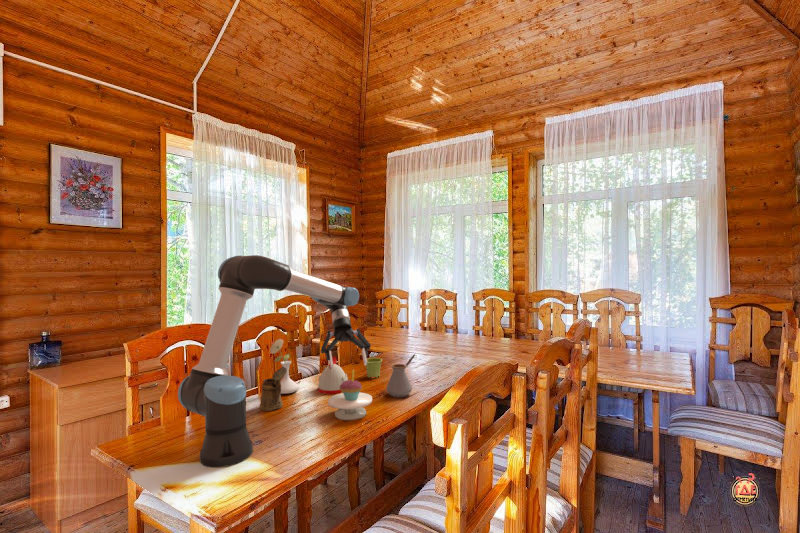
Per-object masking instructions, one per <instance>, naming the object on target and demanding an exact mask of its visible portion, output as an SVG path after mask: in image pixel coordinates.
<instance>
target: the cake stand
mask: <svg viewBox="0 0 800 533" xmlns="http://www.w3.org/2000/svg"><path fill="white" fill-rule="evenodd" d="M372 403H373V396H372V395H371V394H369V393H366V392H361V391H360V392H359V395H358V398H357V399H356V400H353V401H348V400H346V399H345V397H344V394H343V392H342V393H338V394H333V395H331V396H330V397H329V398H328V400H327V404H328V406H329V407H331V408H333V409H337V410H335V411H334V417H335V418H336V419H338V420H341V421H354V420H355V421H357V420H359V419H362V418H364V417H365V416H366V415H367V410H366V408H364V407H367V406H369V405H371V404H372Z"/></svg>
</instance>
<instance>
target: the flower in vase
mask: <svg viewBox="0 0 800 533" xmlns="http://www.w3.org/2000/svg"><path fill="white" fill-rule="evenodd" d="M283 344H284V339H281V338H278V339H276V340H275V341H274V343H273V344H271V347H270V349H269V353H270V354H273V355H274V354H276V353H278V352H279V353H280V355H279V356H278V357H276V358H275V359H274V362H279V361H280V360H283V361H280V364H281V368H282V367H285V368H286V369H287V371H286V374H285V376H284V377H283V378H282V379H281V380H280V383H281V393H280V394H281V395H284V394H291V393H295V392H296V391H298V390H299V389H300V385H299V384H298V383H296V381H294V380H293V379H291V378H290V375H289V371H290V370H289V369H290V365H291V363H292V361H291V360H288V359H289V358H290V352H289V353H287V354H285V355H284V356H283V354H282V352H281V349H282V347H283Z"/></svg>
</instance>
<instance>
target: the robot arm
mask: <svg viewBox="0 0 800 533" xmlns="http://www.w3.org/2000/svg"><path fill="white" fill-rule="evenodd" d="M217 277H218V280H219V286H218V290H219V292H220V297H219V300H218V304H217V307H216V310H215V313H214V316H213V319H212V322H211V325H210V328H209V332H208V334H207V338H206V340H205V344H204V346H203V350H202V351H201V352H202V353H201V355H200V359H199V361H198V364H196V365H195V366H193V367H192V368H191V370H190V373H189V375H188V376H187V377H185V378H183V380H182V381H181V383H180V384H179V386H178V389H177V390H178V391H177V398H178V401H179V404H180V405H181V406H182V407H183V408H185V409H186V410H187V411H189V412H191V413H193V414H197V415H199V416H202V417H204V420H205V422H204V424H205V434H204V439H203V442H202V444H201V449H200V451H199V462H200V464H201V465H203V466H204V467H209V468H222V467H223V468H224V467H229V466H232V465H235V464H239V463H242V462H243V461H245V460H247V459H249V457H251V456H252V454H253V452H254V444H253V441H252V439H251V437H250V433H249V430H248V427H247V389H246V382H245V381H244V380H243V379H242V378H241V377H239V376H235V375H229V373H228V372H229V371H227V365H228V362H229V359H230V356H231V352H232V349H233V346H234V342H235V340H236V336H237V333H238V330H239V327H240V323H241V320H242V317H243V314H244V310H245V306H246V304H247V301H248V300H250V299H252V298H253V297H254V293H255V290H274V291H279V292H283V291H289V292H291V293H292V292H293V293H296V294H301V295H303V296H307V297H310V298H311V299H312V300H313V301H314V302H317V303H318V304H320V305H321V306H323V307H325V308H326V309H328V310H329V311H330V312H331V314H330V315H331V320H332V327H333V331H330V330H327V332H326V337H325V339H324V342H323V344H322V346H321V347H320V348H321V349H320V353H321V354H325V358H326V361H329V364H330V368H331V369H332V368H333V360H332V357H333V356H332V350H333V349H334V348H335V346H336V345H337V344H338V343H339V342H340V343H343V342H349V341H350V343H353V344H354V345H355V346H356V347H358V348H359V349H361V355H362V359H363V365H364V366H365V367H366V365H367V359H368V357H369V352H368V351H369V350H370V349H371V345H372V344H371V343H370V342H369V341H368V339H367V338H366V337H365V335H364V334H362V332H361V329H360V328H357V329H355V330H353V328H352V322H351V316H350V313H349V308H348V307H353V306H355V305H357V304H358V303H359V300H360V293H359V290H358V289H357V288H356V287H351V286H348V287H347V286H344V285H340V284H337V283H334V282H330V281H328V280H325V279H322V278H319V277H316V276H314V275H311V274H307V273H304V272H301V271H297V270H296V269H292V267H291V266H290V265H288V264H285V263H283V262H280V261H278V260H275V259H273V258H271V257H270V258H269V257H267V256H262V255H256V254H253V255H234V256H230V257H228V258H226V259H225V260H223V261H222V263H221V264H220V265H219V267H218V271H217ZM332 337H334V339H333V340H332V341H331V343H330V344H329V342H330V339H331V338H332ZM328 344H329V345H328Z"/></svg>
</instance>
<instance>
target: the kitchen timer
mask: <svg viewBox="0 0 800 533" xmlns="http://www.w3.org/2000/svg"><path fill="white" fill-rule="evenodd" d="M332 360H333V368H332V369H331V368H330V363H329V364H328V365H327V366H326V367H325V368H324V369H323V370H322V372H321V375H319V377H318V384H317V388H318V393H320V394H323V393H324V395H337V394H336V393H338V394H341V392H342V391H341V390H340V385H341V384H342V383H343V382H345V381H347V380H349V379H348V378H349V377H348V374H347V373H345V371H344V370H343V368H342V367H341V366H340V365H339V364H337V360H338V359H337V357H336V356H332ZM342 393H343V392H342Z"/></svg>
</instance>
